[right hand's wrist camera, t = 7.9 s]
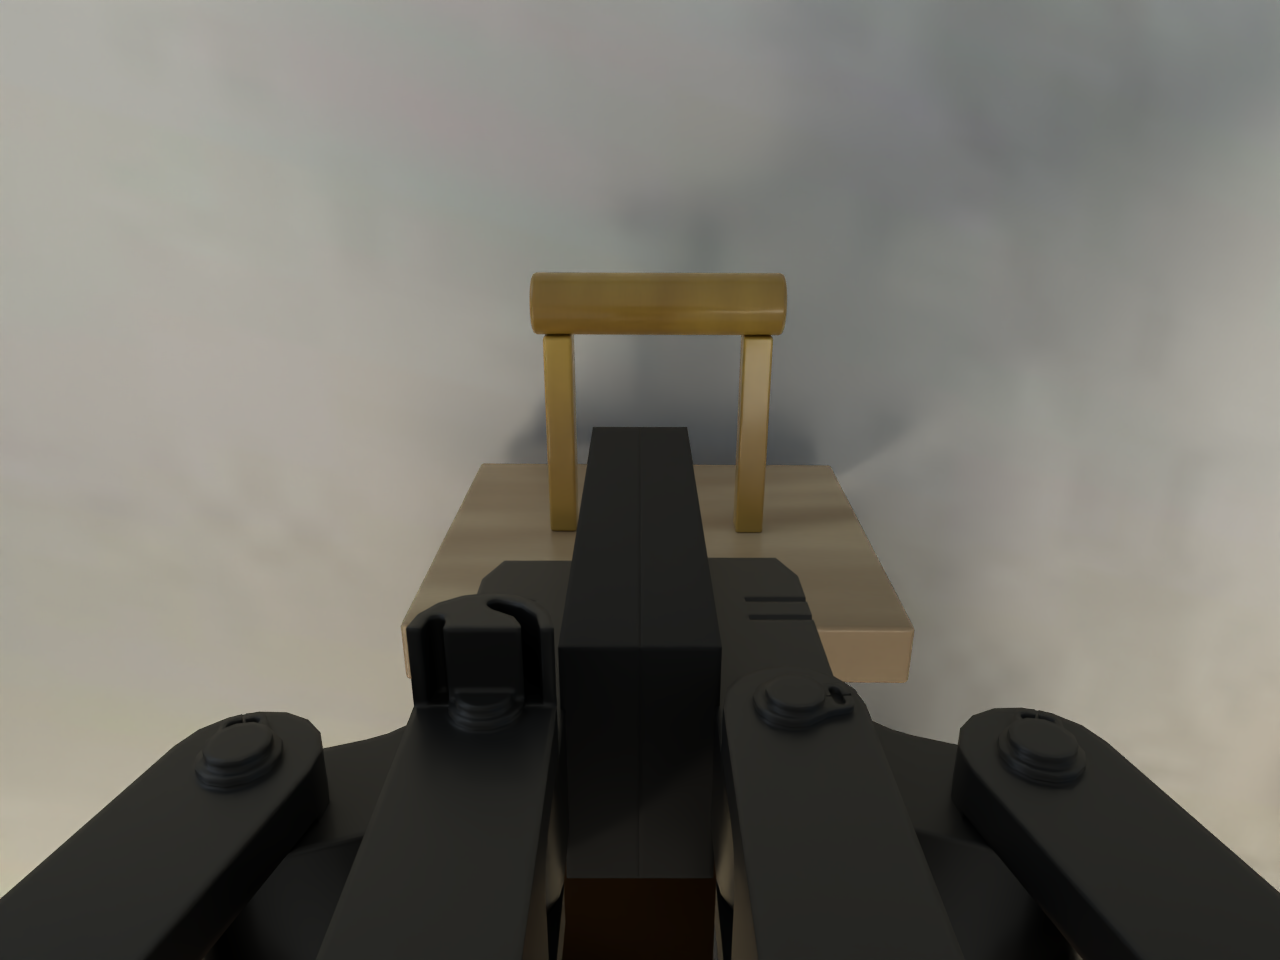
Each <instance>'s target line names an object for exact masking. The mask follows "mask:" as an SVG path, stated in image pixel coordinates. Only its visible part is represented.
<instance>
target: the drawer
mask: <svg viewBox="0 0 1280 960" xmlns="http://www.w3.org/2000/svg"><path fill="white" fill-rule="evenodd" d="M786 313H787V285H786V280H785V277H784V275H783V274H781V273H559V272H536V273H534V274H533V275H532V278H531V282H530V319H531V326H532V329H533V332H534V333H536V334H545V336H544V338H543V356H544V381H545V407H546V432H547V458H548V464H482V465H481V467H480V469H479V471H478V473H477V475H476V476H475V478H474V480H473V482H472V484H471V486H470V488H469V490H468V492H467V494H466V496H465V498H464V500H463V502H462V504H461V506H460V508H459V510H458V512H457V514H456V516H455V518H454V520H453V522H452V524H451V526H450V528H449V530H448V532H447V534H446V536H445V538H444V540H443V542H442V544H441V546H440V548H439V550H438V552H437V554H436V556H435V558H434V560H433V562H432V564H431V566H430V568H429V570H428V572H427V574H426V576H425V578H424V580H423V582H422V584H421V586H420V588H419V590H418V592H417V594H416V596H415V598H414V600H413V602H412V604H411V606H410V608H409V610H408V612H407V614H406V616H405V618H404V620H403V622H402V624H401V631H402V640H403V649H404V658H405V667H406V675H407V677H408V678H410V679H411V673H410V663H409V654H408V645H407V635H406V627H407V626H408V625H409V624H410V623H411V621H412V620H413V619H414V618H415V617H416V616H417V614H419V613H421V612H422V611H424V610H426V609H428V608H430V607H431V606H433V605H435V604H437V603H439V602H442V601H446V600H449V599H453V598H456V597H460V596H463V595H473V594H477V592H478V589H479V586H480V584H481V581H482V579H483V578H484V577H485V576H486V575H488V574H489V573H490V572H491V571H492V570H494V569H495V568H496V567H497V566H499V565H500V564H501V563H502V562H503V561H572V556H573V550H574V543H575V537H576V531H577V525H578V518H579V512H580V506H581V499H582V493H583V487H584V481H585V474H586V468H587V464H577V432H576V394H575V357H574V334H593V335H741V353H740V376H739V400H738V423H737V446H736V465H693V468H694V474H695V481H696V487H697V493H698V499H699V506H700V512H701V518H702V525H703V531H704V537H705V544H706V550H707V556H708V558H777V559H778V560H779V561H780V562H782V563H783V564H784V565H785V566H786V567H788V568H789V569H790V570H791V571H793V572H794V573H795V574H796V575H797V576H798V577H799V580H800V583H801V586H802V588H803V591H804V594H805V597H806V602H807V603H808V605H809V608H810V611H811V614H812V620H814V622H815V625H816V628H817V631H818V633H819V636H820V639H821V642H822V645H823V648H824V650H825V653H826V656H827V659H828V662H829V664H830V667H831V670H832V673H833V676H835V677H836V678H838V679H839V680H841V681H842V682H884V683H904V682H907V680H908V675H909V668H910V660H911V652H912V644H913V637H914V628H913V625H912V623H911V621H910V620H909V618H908V616H907V614H906V612H905V610H904V608H903V606H902V604H901V602H900V600H899V598H898V596H897V594H896V592H895V591H894V589H893V587H892V585H891V583H890V581H889V579H888V577H887V575H886V573H885V571H884V569H883V567H882V565H881V563H880V561H879V560H878V558H877V556H876V554H875V552H874V550H873V548H872V546H871V544H870V542H869V540H868V538H867V536H866V534H865V532H864V531H863V529H862V527H861V525H860V523H859V521H858V519H857V517H856V515H855V513H854V511H853V509H852V507H851V505H850V503H849V501H848V500H847V498H846V496H845V494H844V492H843V490H842V488H841V486H840V484H839V482H838V480H837V478H836V476H835V474H834V472H833V471H832V469H831V467H830V466H821V465H766V456H767V438H768V420H769V402H770V384H771V366H772V348H773V338H772V336H771V335H780V334H782V332H783V330H784V327H785V322H786ZM564 897H565V932H564V943H563V954H562V960H713V948H714V923H715V897H716V871H715V861H714V871H713V878H567V872H566V866H565V876H564Z"/></svg>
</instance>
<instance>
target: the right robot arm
mask: <svg viewBox="0 0 1280 960" xmlns="http://www.w3.org/2000/svg"><path fill="white" fill-rule="evenodd" d="M406 635H407V645H408V654H409V663H410V673H411V682H412V691H413V701H414V708H413V710H412V713H411V715H410V718H409V721H408V723H407V725H406V726H404V727H402V728H400V729H397V730H395V731H393V732H390V733H388V734H385V735H381V736H377V737H374V738H370V739H367V740H362V741H357V742H353V743H348V744H343V745H338V746H333V747H329V748H324V749H323V746H322V740H321V733H320V732H319V731H318V730H317V729H316V727H315V726H314V725H313V724H312V723H311V722H310V721H309V720H308V719H305V718H302V717H299V716H296V715H293V714H290V713H287V712H255V713H247V714H245V715H242V714H241V715H237V716H233V717H229V718H226V719H224V720H221V721H219V722H216V723H214V724H211V725H209V726H206V727H204V728H201V729H199V730H198V731H196V732H195V733H193V734H192V735H190V736H189V737H187V738H186V739H184V740H183V741H181V742H180V743H178V744H177V745H175V746H174V747H173V748H172V749H170V750H169V751H168V752H167V753H166V754H165V755H164V756H162V757H161V758H160V759H159V760H158V761H157V762H156V763H155V764H153V765H152V766H151V767H150V768H149V769H148V770H147V771H145V772H144V773H143V774H142V775H141V776H140V777H139V778H137V779H136V780H135V781H134V782H133V783H132V784H131V785H129V786H128V787H127V788H126V789H125V790H124V791H123V792H122V793H120V794H119V795H118V796H117V797H116V798H115V799H114V800H112V801H111V802H110V803H109V804H108V805H107V806H106V807H104V808H103V809H102V810H101V811H100V812H99V813H98V814H96V815H95V816H94V817H93V818H92V819H91V820H90V821H89V822H87V823H86V824H85V825H84V826H83V827H82V828H81V829H79V830H78V831H77V832H76V833H75V834H74V835H73V836H71V837H70V838H69V839H68V840H67V841H66V842H65V843H64V844H62V845H61V846H60V847H59V848H58V849H57V850H56V851H54V852H53V853H52V854H51V855H50V856H49V857H48V858H46V859H45V860H44V861H43V862H42V863H41V864H40V865H38V866H37V867H36V868H35V869H34V870H33V871H32V872H31V873H29V874H28V875H27V876H26V877H25V878H24V879H23V880H21V881H20V882H19V883H18V884H17V885H16V886H15V887H13V888H12V889H11V890H10V891H9V892H8V893H7V894H5V895H4V896H3V897H2V898H1V899H0V960H562V954H563V943H564V932H565V897H564V876H565V866H566V872H567V878H713V871H714V861H715V871H716V897H715V923H714V948H713V960H1280V893H1279V892H1278V891H1277V890H1276V889H1275V888H1274V887H1272V886H1271V885H1270V884H1269V883H1268V882H1267V881H1266V880H1264V879H1263V878H1262V877H1261V876H1260V875H1259V874H1258V873H1256V872H1255V871H1254V870H1253V869H1252V868H1251V867H1250V866H1248V865H1247V864H1246V863H1245V862H1244V861H1243V860H1242V859H1240V858H1239V857H1238V856H1237V855H1236V854H1235V853H1233V852H1232V851H1231V850H1230V849H1229V848H1228V847H1227V846H1225V845H1224V844H1223V843H1222V842H1221V841H1220V840H1219V839H1217V838H1216V837H1215V836H1214V835H1213V834H1212V833H1211V832H1209V831H1208V830H1207V829H1206V828H1205V827H1204V826H1203V825H1201V824H1200V823H1199V822H1198V821H1197V820H1196V819H1195V818H1193V817H1192V816H1191V815H1190V814H1189V813H1188V812H1186V811H1185V810H1184V809H1183V808H1182V807H1181V806H1180V805H1178V804H1177V803H1176V802H1175V801H1174V800H1173V799H1172V798H1170V797H1169V796H1168V795H1167V794H1166V793H1165V792H1164V791H1162V790H1161V789H1160V788H1159V787H1158V786H1157V785H1156V784H1154V783H1153V782H1152V781H1151V780H1150V779H1149V778H1147V777H1146V776H1145V775H1144V774H1143V773H1142V772H1141V771H1139V770H1138V769H1137V768H1136V767H1135V766H1134V765H1133V764H1131V763H1130V762H1129V761H1128V760H1127V759H1126V758H1125V757H1123V756H1122V755H1121V754H1120V753H1119V752H1118V751H1117V750H1115V749H1114V748H1113V747H1112V746H1111V745H1110V744H1108V743H1107V742H1106V741H1105V740H1103V739H1102V738H1100V737H1099V736H1097V735H1096V734H1094V733H1093V732H1091V731H1090V730H1088V729H1087V728H1085V727H1084V726H1082V725H1080V724H1077V723H1075V722H1072V721H1070V720H1067V719H1065V718H1062V717H1060V716H1057V715H1055V714H1052V713H1048V712H1044V711H1040V710H1039V711H1036V710H1035V709H1026V708H994V709H991V710H988V711H985V712H982V713H979V714H976V715H973V716H972V717H971V718H970V719H969V720H968V721H967V722H966V723H965V724H964V725H963V726H962V727H961V728H960V733H959V740H958V745H956V744H951V743H946V742H941V741H936V740H932V739H927V738H922V737H917V736H913V735H909V734H906V733H902V732H898V731H895V730H892V729H889V728H887V727H885V726H883V725H880V724H878V723H876V722H873V721H872V719H871V717H870V714H869V712H868V709H867V706H866V704H865V703H864V702H863V700H862V699H861V698H860V696H859V695H858V693H857V692H856V691H855V689H853V688H852V687H850V686H849V685H847V684H846V683H844V682H842V681H841V680H839V679H838V678H836V677H835V676H833V673H832V670H831V667H830V664H829V662H828V659H827V656H826V653H825V650H824V648H823V645H822V642H821V639H820V636H819V633H818V631H817V628H816V625H815V622H814V620H812V614H811V611H810V608H809V605H808V603H807V602H806V597H805V594H804V591H803V588H802V586H801V583H800V580H799V577H798V576H797V575H796V574H795V573H794V572H793V571H791V570H790V569H789V568H788V567H786V566H785V565H784V564H783V563H782V562H780V561H779V560H778V559H777V558H708V556H707V550H706V544H705V537H704V531H703V525H702V518H701V512H700V506H699V499H698V493H697V487H696V481H695V474H694V468H693V462H692V455H691V449H690V443H689V437H688V430H687V427H593V430H592V437H591V443H590V449H589V455H588V462H587V468H586V474H585V481H584V487H583V493H582V499H581V506H580V512H579V518H578V525H577V531H576V537H575V543H574V550H573V556H572V561H503V562H502V563H501V564H500V565H499V566H497V567H496V568H495V569H494V570H492V571H491V572H490V573H489V574H488V575H486V576H485V577H484V578H483V579H482V581H481V584H480V586H479V589H478V592H477V594H473V595H463V596H460V597H456V598H453V599H449V600H446V601H442V602H439V603H437V604H435V605H433V606H431V607H430V608H428V609H426V610H424V611H422V612H421V613H419V614H417V616H416V617H415V618H414V619H413V620H412V621H411V623H410V624H409V625H408V626H407V627H406Z"/></svg>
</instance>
